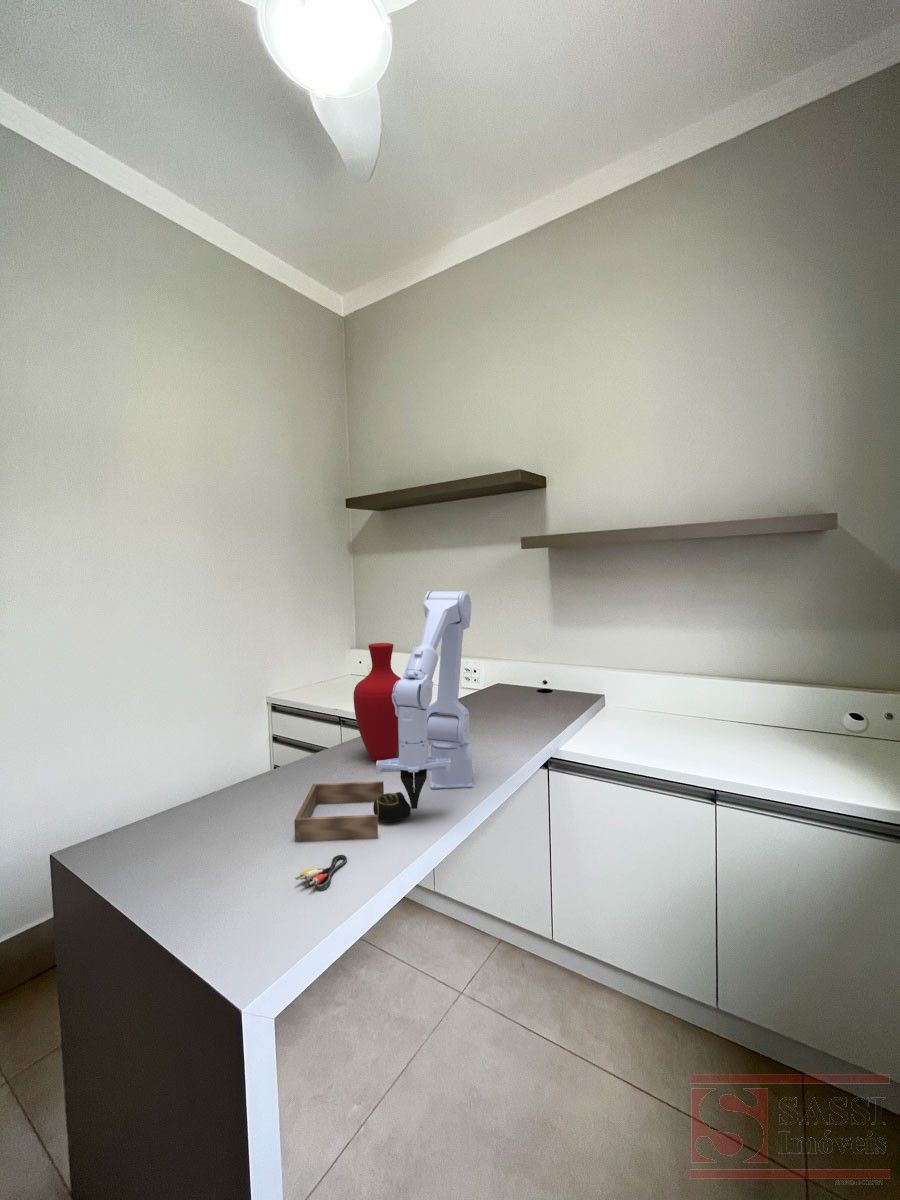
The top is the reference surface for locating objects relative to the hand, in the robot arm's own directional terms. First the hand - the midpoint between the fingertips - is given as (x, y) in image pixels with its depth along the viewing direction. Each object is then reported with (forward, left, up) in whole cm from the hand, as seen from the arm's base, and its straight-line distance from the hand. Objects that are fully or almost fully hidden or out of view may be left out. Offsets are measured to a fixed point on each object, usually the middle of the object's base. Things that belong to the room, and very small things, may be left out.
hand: (414, 806), depth 99 cm
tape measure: (+4, 0, -2) cm, 5 cm away
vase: (+9, -33, -2) cm, 34 cm away
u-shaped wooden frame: (+14, 0, -2) cm, 14 cm away
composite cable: (+14, +18, -2) cm, 23 cm away
